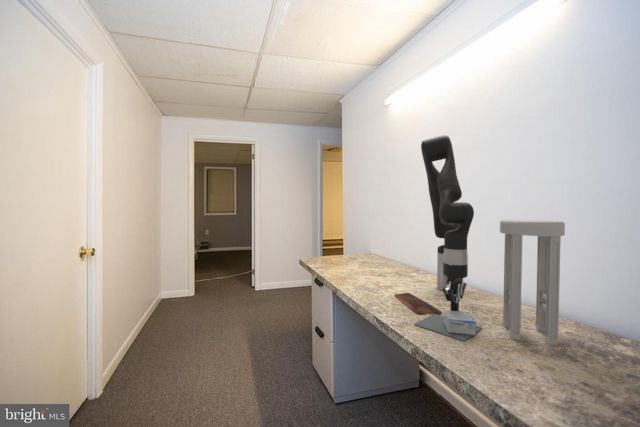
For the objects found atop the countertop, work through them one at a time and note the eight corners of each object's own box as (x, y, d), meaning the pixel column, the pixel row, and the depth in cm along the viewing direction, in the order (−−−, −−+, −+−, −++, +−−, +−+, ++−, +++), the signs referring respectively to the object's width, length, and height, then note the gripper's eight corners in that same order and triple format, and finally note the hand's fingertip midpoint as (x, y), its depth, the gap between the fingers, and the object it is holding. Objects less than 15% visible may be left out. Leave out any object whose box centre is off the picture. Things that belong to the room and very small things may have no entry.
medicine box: (443, 322, 99) (447, 333, 90) (443, 309, 99) (448, 318, 90) (469, 324, 97) (476, 336, 88) (469, 311, 97) (476, 321, 88)
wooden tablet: (390, 291, 132) (411, 288, 134) (391, 296, 132) (412, 293, 134) (417, 313, 106) (443, 309, 107) (418, 319, 106) (444, 315, 107)
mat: (434, 314, 107) (434, 313, 107) (482, 328, 95) (482, 327, 95) (414, 325, 97) (414, 323, 97) (464, 341, 86) (464, 340, 86)
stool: (504, 340, 86) (506, 221, 85) (494, 321, 101) (496, 219, 100) (570, 350, 81) (573, 222, 80) (550, 328, 95) (552, 220, 94)
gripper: (452, 257, 106) (452, 305, 107) (435, 262, 98) (434, 314, 98) (474, 260, 101) (474, 311, 101) (458, 266, 92) (457, 321, 93)
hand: (454, 312), depth 100 cm, fingers closed
